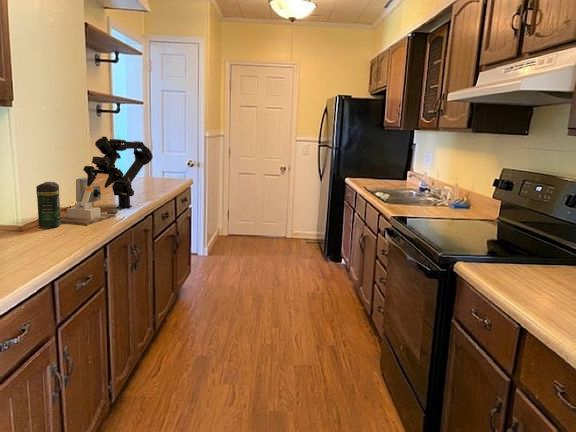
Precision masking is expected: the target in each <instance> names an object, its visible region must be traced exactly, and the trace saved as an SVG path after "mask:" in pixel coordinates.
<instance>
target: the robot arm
mask: <svg viewBox="0 0 576 432" xmlns="http://www.w3.org/2000/svg"><path fill="white" fill-rule="evenodd" d="M94 146H95V147H96V148H97V149H98V151H99V152H100V153H101V154H102V155H103V156H92V160H91V164H94V165H95V167H96V168H95V167H94V166H93V165H84V167H83V169H82V170H83V172H84V173H85V174H86V175H87V177H88V181H87V186H90V185H91V184H92V185H93V182H95V180H97V176H98V174H100V175H107V179H106V181H105V183H104V188H105V189H107V188H108V187H110V186H111V185H112V186H111V189H112V192H113V196H117V197H118V206H116V209H130V208H132V207H133V204H131V197H133V196H135V195H134V194H135V190H134V189H133V188H132V182H133V181H134V179H135V178H136V176H137V175H138V174H139V173H140V171H141V170H142V168H143V167H144V166H145V165H148V164H149V163H150V162H152V160H153V158H154V157H153V153H152V151H151V149H150V148H149V147H147V146H146V145H145V143H144V142H143V141H141V140H140V141H139V140H138V141H137V140H134V141H127V140H125V139H120V138H119V139H118V138H110V139H108V137H107V136H101V138H98V139H97V140H96V141H95V143H94ZM127 149H128V150H129V149H132V150H133V155H134V162H133V163H132V164H131V165H130V167H129V168H128V169H127V171H126V172H125V173H123V172H122V170H121V169H120V167H116V164H115V163H116V162H117V160H118V159H119V160H121V158H122V157H121V155H120V153H119V152H123V151H127Z"/></svg>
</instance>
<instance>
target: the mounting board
mask: <svg viewBox="0 0 576 432" xmlns="http://www.w3.org/2000/svg"><path fill="white" fill-rule="evenodd" d="M100 213H101V216H100V217H97V218H94V219H81V218H71V217H67V214H66V215H62V216H61V224H72V225H82V226H89V225H92V224H96V223H98V222H99V223H100V222H102V221H104V220H108V219H111V217H112V218H114V217H116V213H115V214H107V213H104V212H100Z"/></svg>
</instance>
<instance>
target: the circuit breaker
mask: <svg viewBox="0 0 576 432" xmlns="http://www.w3.org/2000/svg"><path fill="white" fill-rule="evenodd" d="M81 177H82V178H78V179H76V201H77V203H78V202H82V199H83V196H84V193H85V190H84V188H85V186H87V181H88V176H86V177H85V176H81ZM90 186H91V187H93V188H94V189H93V192H91V195H90V198H89V201H88V203H89V202H92V207H94V202H98V201H101V200H102V198H101V197H102V196H101V195H102V193H101V185H97V184H93V183H92V184H91V185H90Z"/></svg>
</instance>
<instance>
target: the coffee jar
mask: <svg viewBox="0 0 576 432" xmlns="http://www.w3.org/2000/svg"><path fill="white" fill-rule="evenodd" d="M35 190H36V198H37V219H38V222H37V223H38V228H42V229H43V228H44V229H50V228H57V227H59V226H60V225H61V224H62V223H61V217H62V216H61V203H60V202H61V201H60V200H61V199H60V185H59V184H58V183H57V182H55V181H45V182H43V183H40V184H38V185H36V189H35Z"/></svg>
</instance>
